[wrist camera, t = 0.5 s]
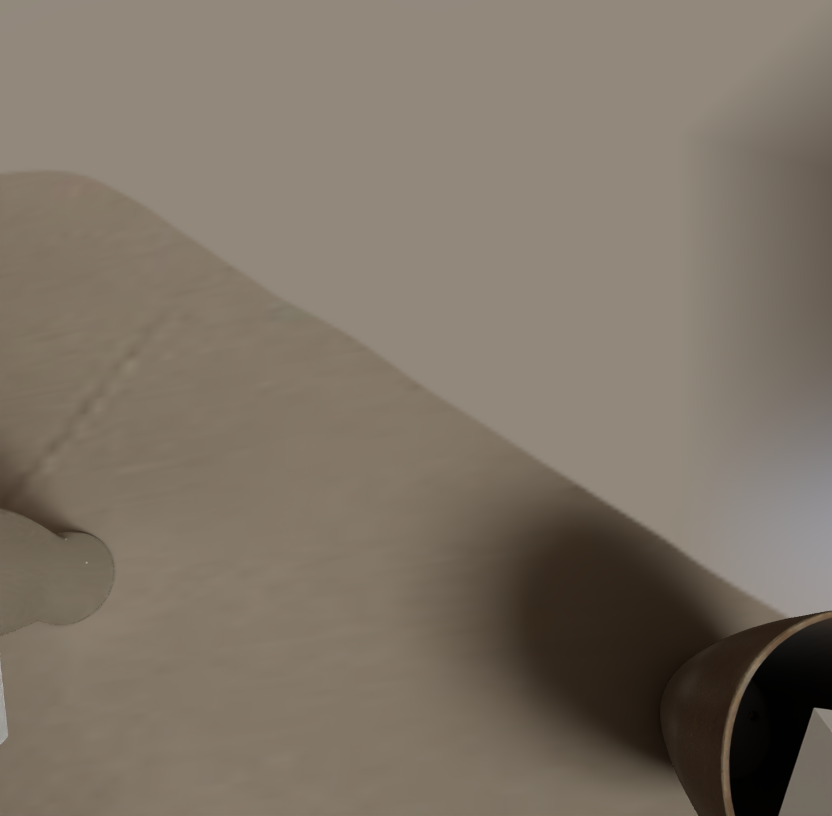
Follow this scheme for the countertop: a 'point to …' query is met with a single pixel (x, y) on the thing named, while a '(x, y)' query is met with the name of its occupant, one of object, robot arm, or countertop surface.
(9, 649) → the countertop surface
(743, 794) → the plant pot
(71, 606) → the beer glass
